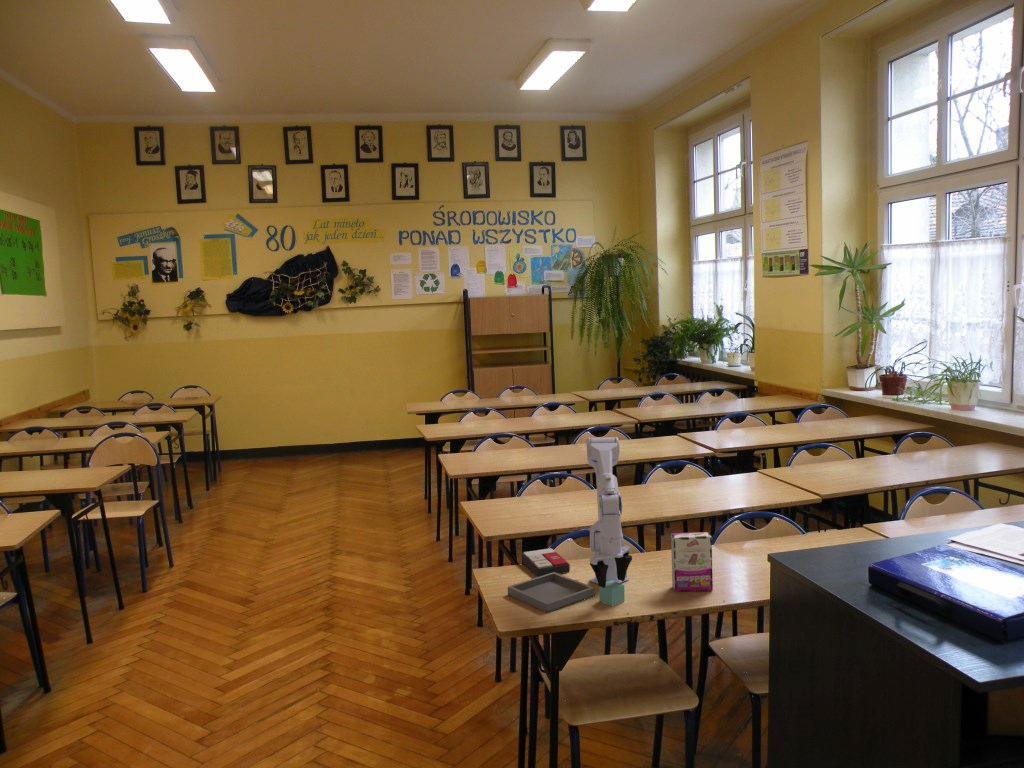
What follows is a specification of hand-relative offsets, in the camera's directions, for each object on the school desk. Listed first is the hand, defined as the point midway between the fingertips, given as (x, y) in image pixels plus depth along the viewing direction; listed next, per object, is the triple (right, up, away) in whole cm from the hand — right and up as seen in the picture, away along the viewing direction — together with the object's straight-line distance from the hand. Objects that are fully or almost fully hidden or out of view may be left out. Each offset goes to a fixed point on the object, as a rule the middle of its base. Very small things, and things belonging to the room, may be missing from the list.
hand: (611, 583), depth 217 cm
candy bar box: (+25, -4, +8) cm, 26 cm away
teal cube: (0, -5, +1) cm, 6 cm away
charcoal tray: (-17, -5, +6) cm, 19 cm away
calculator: (-17, -3, +31) cm, 35 cm away
